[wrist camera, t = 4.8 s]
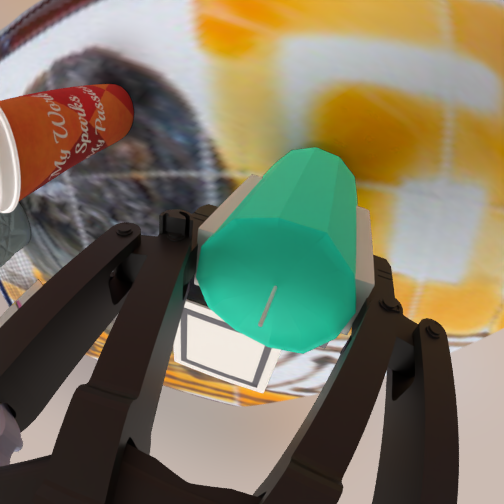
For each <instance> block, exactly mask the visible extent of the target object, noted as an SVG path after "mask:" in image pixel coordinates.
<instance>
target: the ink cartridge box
mask: <svg viewBox="0 0 504 504" xmlns="http://www.w3.org/2000/svg"><path fill="white" fill-rule="evenodd" d="M42 286H43V285H42V283H41V282H40V281H39V280H38V281H36V282H35V283H34V284H33V285H32V286H31V287H30V288H29V289H28V290H27V291H26V292H25V293H24V294H23V295H22V296H21V297H19V298H18V299H17V300H16V301H15V302H14V303H13V304H12V305H11V306H10V307H9V308H8V309H7V310H6V312H4V314H3V315H2V316H1V317H0V327H1V326H2V325H3V324H4V323H5V322H6V321H7V320H8V319H9V318H10V317H11V316H12V315H13V314H14V313H15V312H16V311H17V310H18V309H19V308H20V307H21V306H22V305H23V304H24V303H25V302H26V301H27V300H28V299H29V298H30V297H31V296H32V295H33V294H35V293H36V292H37V291H38V290H39V289H40V288H41V287H42Z"/></svg>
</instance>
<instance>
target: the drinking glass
mask: <svg viewBox="0 0 504 504" xmlns="http://www.w3.org/2000/svg"><path fill="white" fill-rule="evenodd" d="M30 238H31V230H30V225H29V221H28V218H27V216H26V213H25V211H24V209H23V208H22V206H21V205H20V203H19V202H18V204H17V206H16V208H15V209H14V210H13V211H12V212H10V213H1V212H0V267H2V266H3V265H4V264H5V263H6V262H7V261H8V260H9V259H10V258H11V257H12V256H13V255H14V253H16V252H18V251H19V250H20V249H22V248H23V247H24V246H25V245H26V244H27V243H28V242H29V240H30Z"/></svg>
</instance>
